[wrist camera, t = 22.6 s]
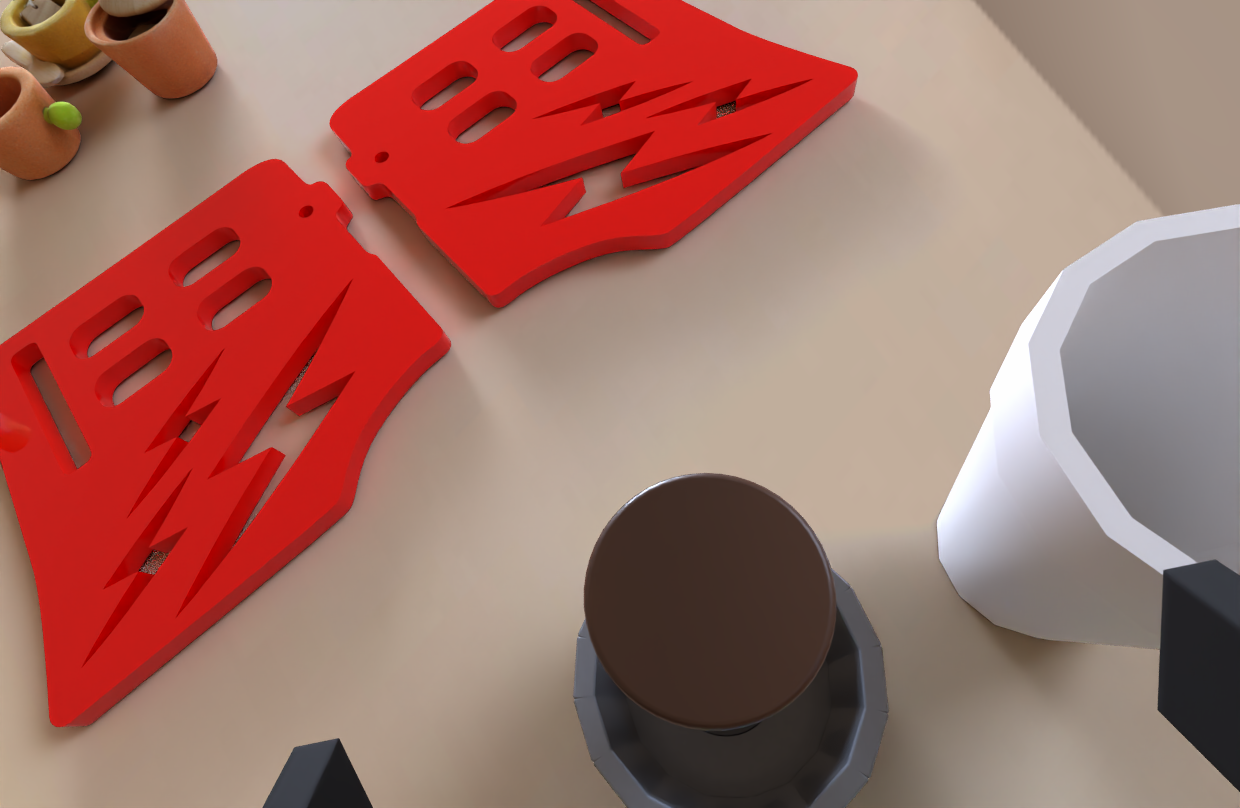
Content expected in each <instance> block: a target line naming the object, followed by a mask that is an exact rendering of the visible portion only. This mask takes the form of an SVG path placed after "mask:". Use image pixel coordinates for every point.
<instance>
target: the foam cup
mask: <svg viewBox="0 0 1240 808" xmlns="http://www.w3.org/2000/svg"><path fill="white" fill-rule="evenodd" d="M990 399H991V409H990V411H989V413H988V415H987V417H986V419H985V421H984V423H983V426H982V428H981V430H980V432H979V434H978V436H977V438H976V440H975V442H974V444H973V446H972V448H971V450H970V452H969V455H968V457H967V459H966V461H965V463H964V465H963V467H962V469H961V471H960V473H959V475H958V477H957V479H956V481H955V484H954V486H953V488H952V490H951V492H950V494H949V496H948V498H947V500H946V502H945V504H944V506H943V508H942V511H941V513H940V515H939V518H938V520H937V534H938V550H939V560H940V562H941V563H942V565H943V567H944V569H945V571H946V572H947V574H948V576H949V578H950V580H951V581H952V583H953V585H954V587H955V589H956V591H957V592H958V594H959V596H960V597H961V598H963V599H964V600H965V601H966V602H968V603H969V604H970V605H971V606H972V607H974V608H975V609H976V610H977V611H979V612H980V613H981V614H982V615H984V616H985V617H986V618H987V619H988V620H990V621H991V622H992V623H993V624H995V625H997V626H1000V627H1004V628H1007V629H1010V630H1013V631H1016V632H1019V633H1023V634H1026V635H1029V636H1032V637H1035V638H1038V639H1040V638H1043V639H1046V640H1055V641H1067V642H1079V643H1090V644H1102V645H1114V646H1125V647H1137V648H1148V649H1160V638H1161V614H1162V589H1163V570H1166V569H1171V568H1175V567H1180V566H1185V565H1190V564H1195V563H1200V562H1205V561H1210V560H1215V559H1216V560H1217V561H1219V562H1220V563H1222V564H1223V565H1225V566H1226V567H1228V568H1229V569H1231V570H1232V571H1234V572H1235V573H1237V574H1238V575H1240V205H1231V206H1226V207H1220V208H1213V209H1207V210H1201V211H1195V212H1189V213H1183V214H1177V215H1171V216H1165V217H1159V218H1153V219H1147V220H1141V221H1137V222H1135V223H1134V224H1132V225H1130V226H1129V227H1127V228H1126V229H1124V230H1123V231H1121V232H1120V233H1118V234H1117V235H1115V236H1114V237H1112V238H1111V239H1109V240H1107V241H1106V242H1104V243H1103V244H1101V245H1100V246H1098V247H1097V248H1095V249H1094V250H1092V251H1091V252H1089V253H1088V254H1086V255H1085V256H1083V257H1081V258H1080V259H1078V260H1077V261H1075V262H1074V263H1072V264H1071V265H1069V266H1068V267H1066V268H1065V269H1063V271H1062V272H1061V273H1060V275H1059V276H1058V277H1057V279H1056V280H1055V281H1054V283H1053V284H1052V285H1051V286H1050V288H1049V289H1048V290H1047V292H1046V293H1045V294H1044V296H1043V297H1042V298H1041V300H1040V301H1039V302H1038V304H1037V305H1036V306H1035V308H1034V309H1033V310H1032V312H1031V313H1030V314H1029V316H1028V317H1027V318H1026V320H1025V321H1024V322H1023V323H1022V325H1021V327H1020V329H1019V331H1018V334H1017V336H1016V338H1015V340H1014V342H1013V344H1012V346H1011V348H1010V350H1009V352H1008V354H1007V356H1006V358H1005V360H1004V362H1003V364H1002V366H1001V368H1000V371H999V373H998V375H997V377H996V379H995V381H994V383H993V385H992V387H991V389H990Z"/></svg>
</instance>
